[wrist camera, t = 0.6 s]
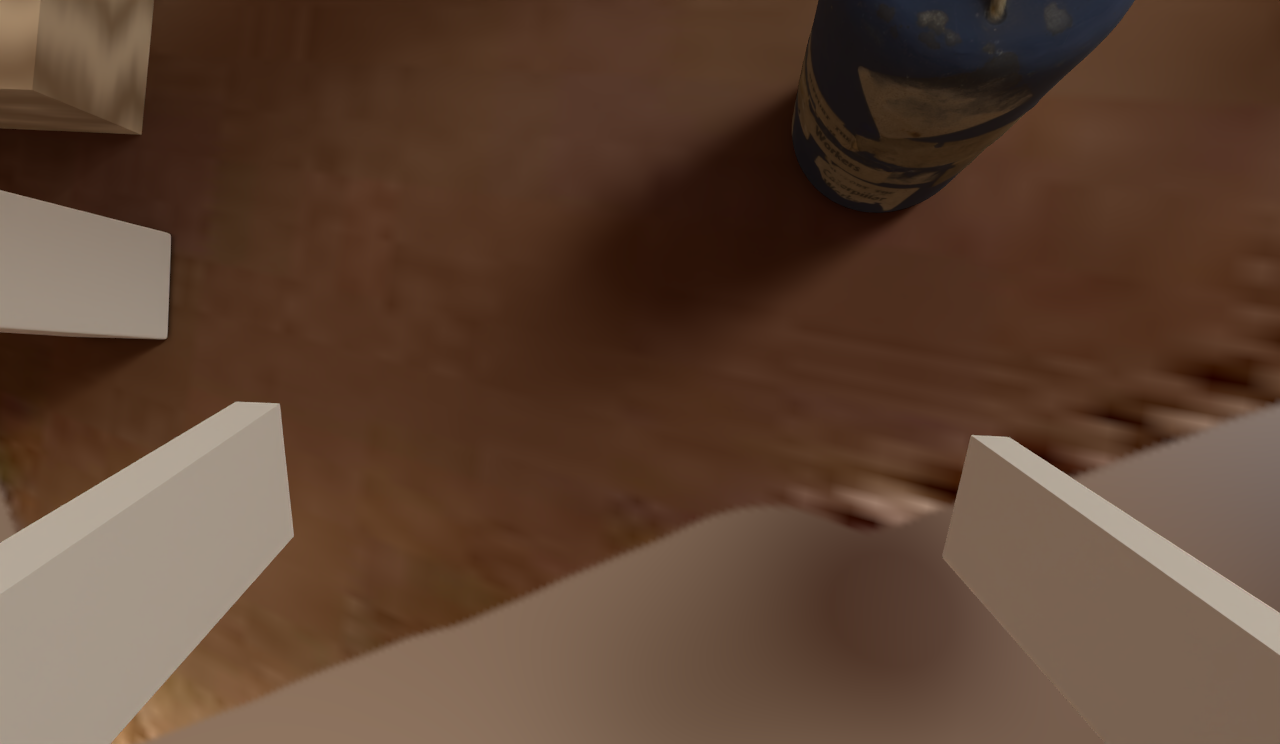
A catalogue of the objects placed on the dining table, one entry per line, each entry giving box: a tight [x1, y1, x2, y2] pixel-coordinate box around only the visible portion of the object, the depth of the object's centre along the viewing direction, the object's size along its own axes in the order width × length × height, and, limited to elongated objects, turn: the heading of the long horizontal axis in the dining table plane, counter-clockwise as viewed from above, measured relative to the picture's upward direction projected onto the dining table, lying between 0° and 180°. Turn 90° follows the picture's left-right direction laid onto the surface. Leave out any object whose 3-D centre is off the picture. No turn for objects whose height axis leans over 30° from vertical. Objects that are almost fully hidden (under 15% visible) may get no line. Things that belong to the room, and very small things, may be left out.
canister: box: [792, 0, 1135, 213], centre depth 26 cm, size 10×10×18 cm
